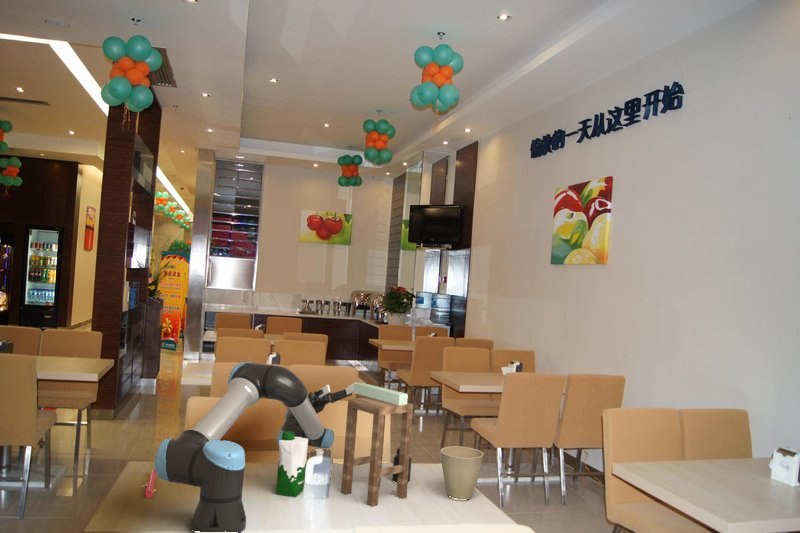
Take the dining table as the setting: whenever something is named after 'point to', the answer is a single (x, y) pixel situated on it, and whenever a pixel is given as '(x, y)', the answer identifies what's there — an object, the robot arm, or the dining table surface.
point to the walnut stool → (377, 446)
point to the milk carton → (291, 464)
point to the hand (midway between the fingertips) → (343, 386)
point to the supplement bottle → (396, 462)
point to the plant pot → (460, 470)
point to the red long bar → (150, 485)
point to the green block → (381, 393)
